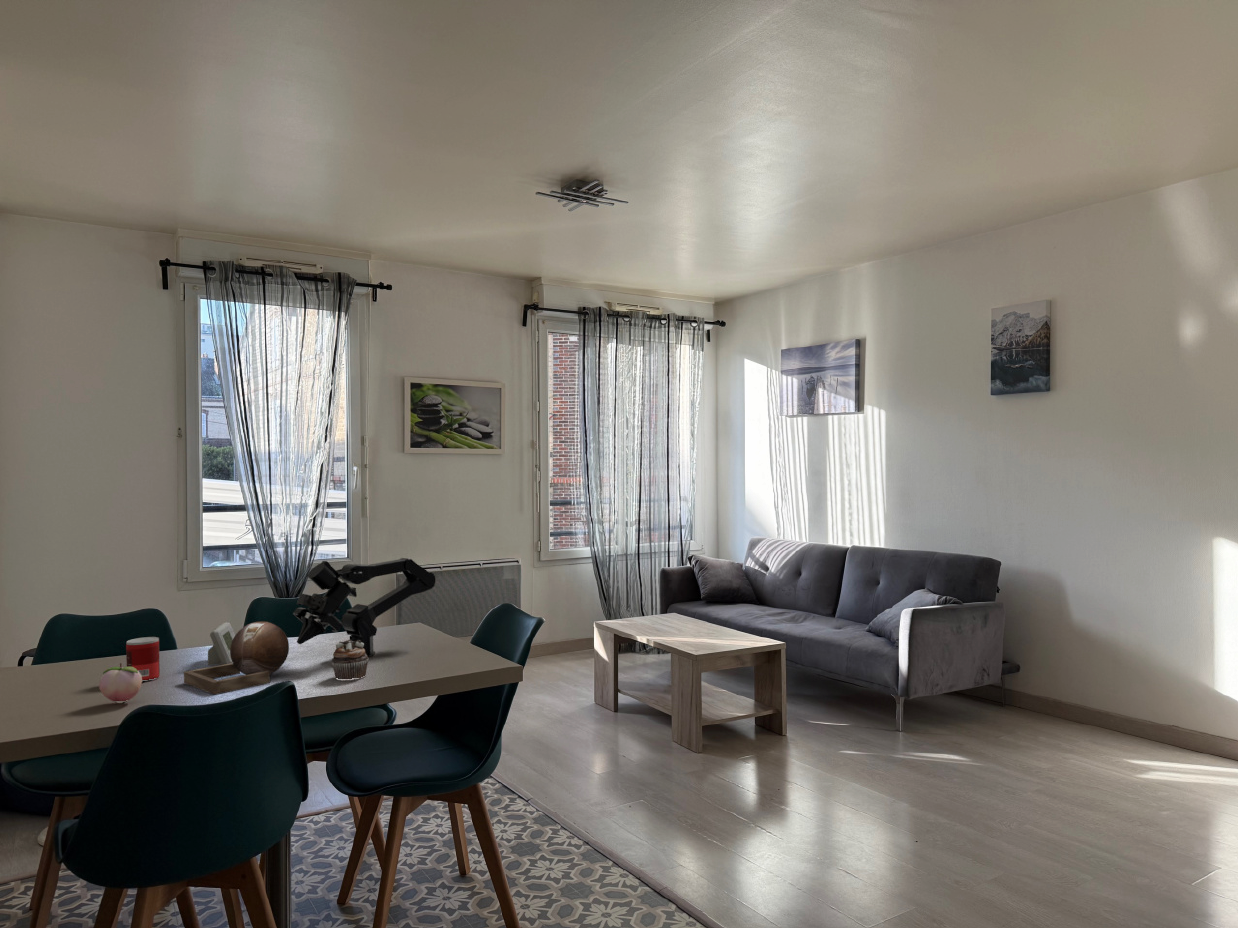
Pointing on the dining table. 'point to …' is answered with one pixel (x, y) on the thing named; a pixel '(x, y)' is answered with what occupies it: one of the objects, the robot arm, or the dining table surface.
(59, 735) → the dining table surface
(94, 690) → the dining table surface
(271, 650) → the wooden sphere
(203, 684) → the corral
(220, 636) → the digital clock
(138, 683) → the decorative fruit
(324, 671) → the dining table surface
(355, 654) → the cupcake
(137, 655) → the canned food
